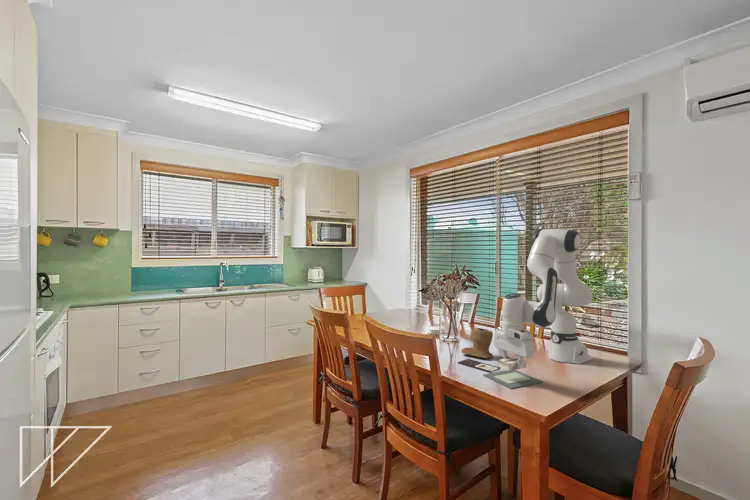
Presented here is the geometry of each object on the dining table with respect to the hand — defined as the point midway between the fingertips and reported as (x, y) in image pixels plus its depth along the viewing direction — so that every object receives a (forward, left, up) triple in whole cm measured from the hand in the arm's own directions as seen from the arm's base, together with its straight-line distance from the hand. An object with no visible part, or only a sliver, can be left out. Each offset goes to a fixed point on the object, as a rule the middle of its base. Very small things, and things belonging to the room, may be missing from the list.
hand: (512, 362), depth 159 cm
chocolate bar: (+2, -20, -8) cm, 22 cm away
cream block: (0, 0, -2) cm, 2 cm away
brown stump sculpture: (-9, -33, -8) cm, 35 cm away
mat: (0, 0, -7) cm, 7 cm away
